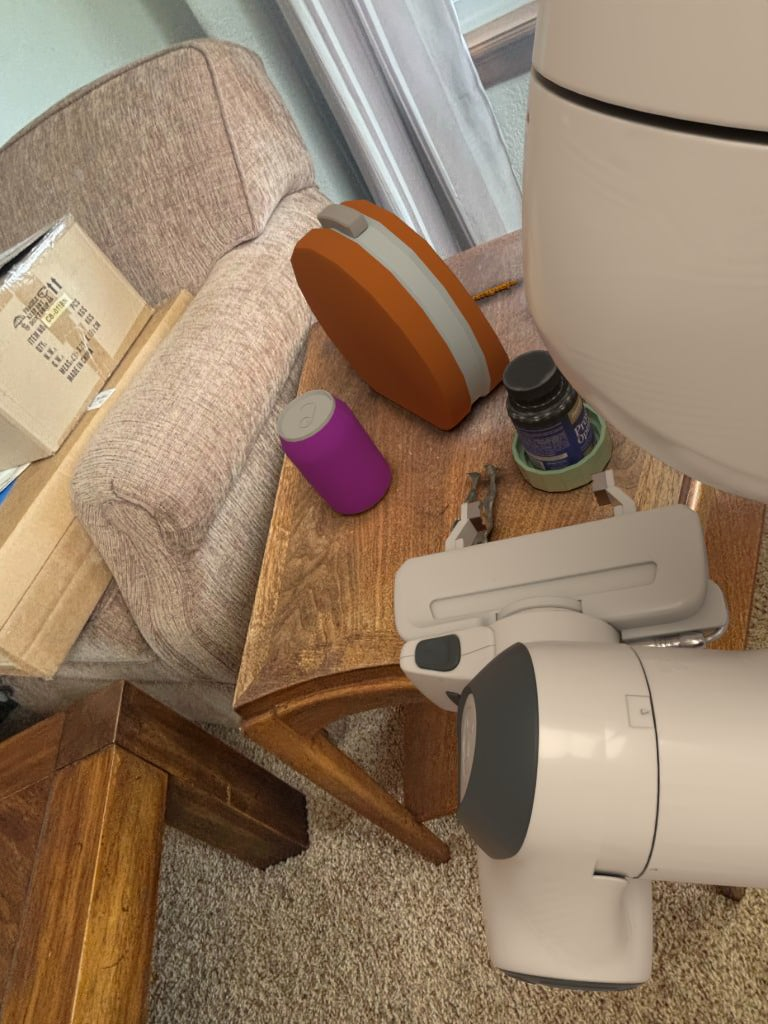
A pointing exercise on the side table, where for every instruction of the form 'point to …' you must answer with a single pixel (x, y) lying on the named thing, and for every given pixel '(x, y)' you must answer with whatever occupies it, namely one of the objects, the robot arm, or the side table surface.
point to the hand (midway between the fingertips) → (536, 491)
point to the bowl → (571, 474)
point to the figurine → (488, 501)
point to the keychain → (494, 290)
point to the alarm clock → (397, 312)
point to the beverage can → (333, 451)
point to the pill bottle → (547, 412)
